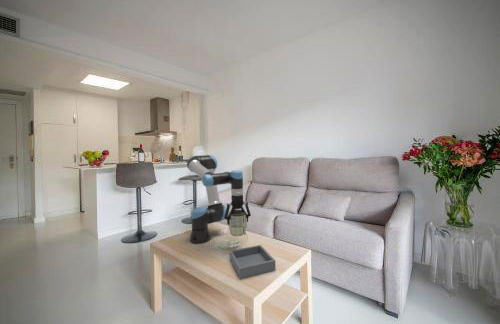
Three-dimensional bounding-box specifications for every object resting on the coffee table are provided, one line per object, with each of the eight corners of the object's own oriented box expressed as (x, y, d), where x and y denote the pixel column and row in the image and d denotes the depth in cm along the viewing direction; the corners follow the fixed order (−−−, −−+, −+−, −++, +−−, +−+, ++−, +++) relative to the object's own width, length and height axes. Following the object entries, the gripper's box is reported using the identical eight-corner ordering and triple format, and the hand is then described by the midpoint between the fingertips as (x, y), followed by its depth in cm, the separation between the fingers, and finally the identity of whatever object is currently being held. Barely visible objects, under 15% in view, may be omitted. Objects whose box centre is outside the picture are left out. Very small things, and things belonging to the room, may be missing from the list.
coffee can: (228, 231, 141) (228, 210, 140) (243, 229, 144) (242, 208, 143) (232, 237, 131) (231, 215, 130) (247, 235, 135) (247, 213, 133)
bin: (229, 259, 128) (229, 250, 128) (260, 253, 135) (260, 244, 135) (240, 279, 109) (239, 268, 109) (275, 270, 116) (275, 260, 116)
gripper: (221, 197, 128) (222, 233, 130) (255, 194, 136) (256, 227, 138) (218, 195, 135) (219, 228, 137) (251, 191, 143) (252, 223, 145)
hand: (237, 228), depth 137 cm, fingers closed on coffee can, 10 cm apart
